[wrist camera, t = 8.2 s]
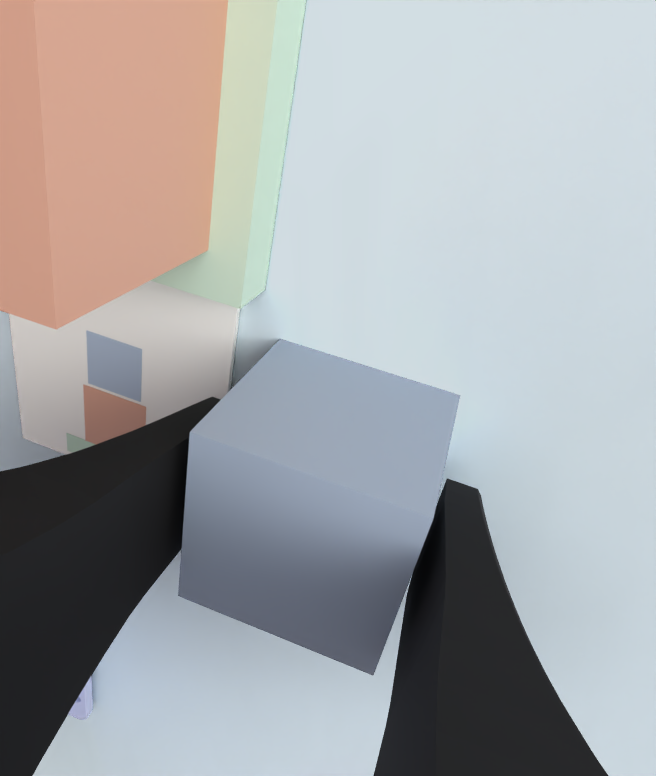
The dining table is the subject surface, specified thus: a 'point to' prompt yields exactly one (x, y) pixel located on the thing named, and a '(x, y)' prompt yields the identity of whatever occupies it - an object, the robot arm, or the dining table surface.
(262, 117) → the plate
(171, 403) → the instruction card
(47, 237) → the terracotta brick
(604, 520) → the dining table surface
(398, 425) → the slate brick
